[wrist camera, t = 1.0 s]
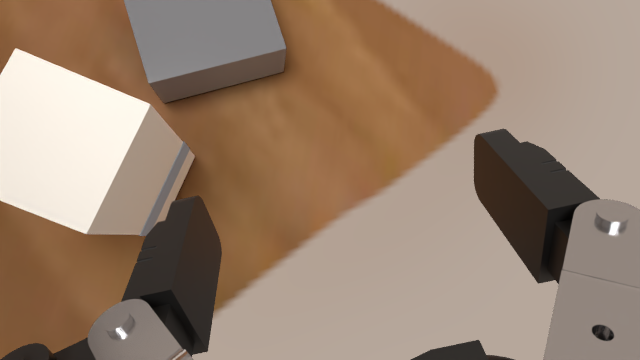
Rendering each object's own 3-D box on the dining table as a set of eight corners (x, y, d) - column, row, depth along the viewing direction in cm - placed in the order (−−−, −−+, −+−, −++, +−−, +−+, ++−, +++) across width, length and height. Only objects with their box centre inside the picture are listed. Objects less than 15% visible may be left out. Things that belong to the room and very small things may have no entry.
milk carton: (159, 235, 29) (87, 235, 17) (73, 202, 29) (-61, 178, 17) (196, 155, 30) (152, 103, 18) (114, 122, 30) (15, 46, 18)
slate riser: (163, 103, 30) (148, 83, 26) (129, -11, 31) (109, -47, 27) (283, 71, 32) (286, 48, 28) (248, -37, 32) (246, -74, 28)
